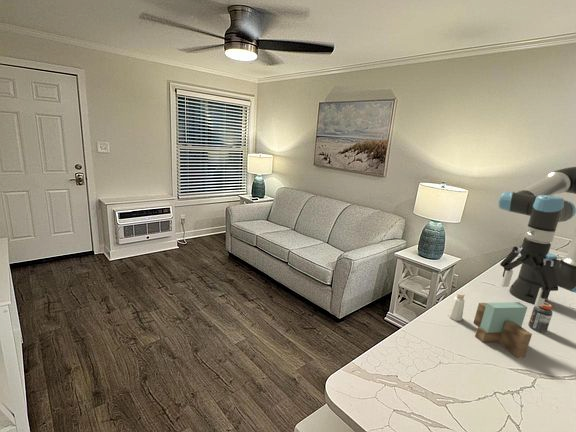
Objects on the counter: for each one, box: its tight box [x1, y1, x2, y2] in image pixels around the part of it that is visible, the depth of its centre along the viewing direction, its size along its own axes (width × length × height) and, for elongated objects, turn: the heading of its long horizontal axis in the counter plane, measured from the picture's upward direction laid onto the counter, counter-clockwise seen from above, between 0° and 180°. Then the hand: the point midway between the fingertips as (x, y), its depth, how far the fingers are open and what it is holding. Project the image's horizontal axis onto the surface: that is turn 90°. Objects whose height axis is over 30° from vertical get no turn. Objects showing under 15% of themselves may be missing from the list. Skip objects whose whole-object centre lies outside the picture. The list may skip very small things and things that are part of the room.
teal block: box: [480, 301, 528, 333], centre depth 113 cm, size 14×4×10 cm, turn 101°
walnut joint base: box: [473, 302, 533, 358], centre depth 114 cm, size 20×16×9 cm
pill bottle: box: [528, 302, 553, 334], centre depth 124 cm, size 6×6×11 cm
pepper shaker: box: [447, 291, 465, 322], centre depth 126 cm, size 5×5×11 cm
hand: (520, 295), depth 112 cm, fingers open, 13 cm apart
